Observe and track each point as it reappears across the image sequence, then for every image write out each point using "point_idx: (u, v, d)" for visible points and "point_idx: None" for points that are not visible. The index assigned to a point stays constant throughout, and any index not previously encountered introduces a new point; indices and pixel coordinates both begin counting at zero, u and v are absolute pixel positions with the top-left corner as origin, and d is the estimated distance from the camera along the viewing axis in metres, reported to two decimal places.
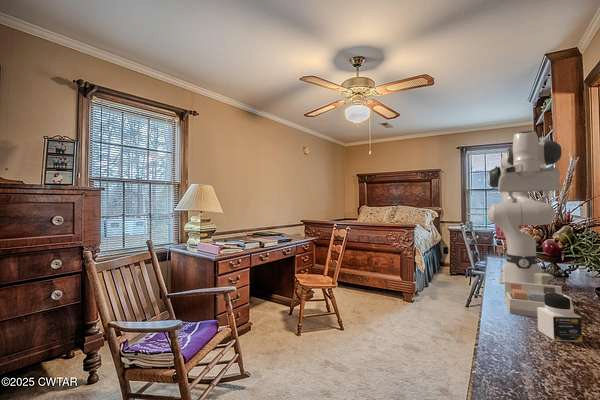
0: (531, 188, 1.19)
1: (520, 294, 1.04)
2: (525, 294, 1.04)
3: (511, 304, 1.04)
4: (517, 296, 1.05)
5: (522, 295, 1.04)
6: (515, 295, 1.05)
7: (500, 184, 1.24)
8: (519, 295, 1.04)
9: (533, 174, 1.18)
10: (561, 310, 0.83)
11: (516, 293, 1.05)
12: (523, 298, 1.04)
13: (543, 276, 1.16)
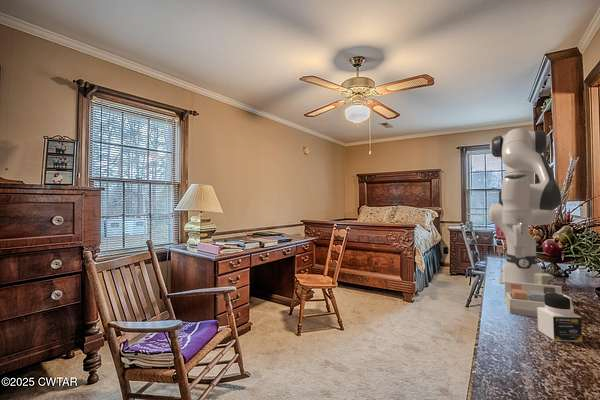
0: (511, 242, 1.07)
1: (520, 294, 1.04)
2: (525, 294, 1.04)
3: (511, 304, 1.04)
4: (517, 296, 1.05)
5: (522, 295, 1.04)
6: (515, 295, 1.05)
7: (507, 233, 1.16)
8: (519, 295, 1.04)
9: (508, 227, 1.07)
10: (561, 310, 0.83)
11: (516, 293, 1.05)
12: (523, 298, 1.04)
13: (543, 276, 1.16)
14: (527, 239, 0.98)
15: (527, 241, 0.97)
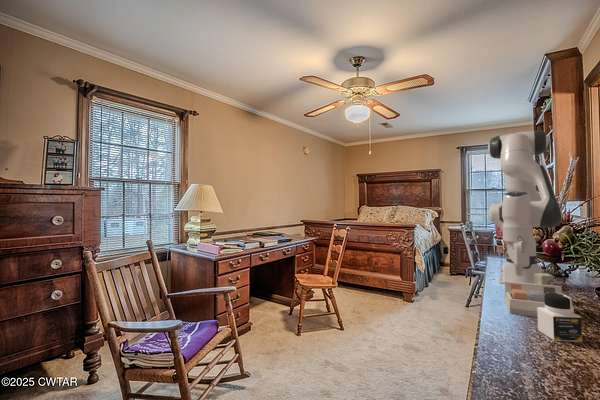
0: (512, 260, 1.06)
1: (520, 294, 1.04)
2: (525, 294, 1.04)
3: (511, 304, 1.04)
4: (517, 296, 1.05)
5: (522, 295, 1.04)
6: (515, 295, 1.05)
7: (507, 250, 1.16)
8: (519, 295, 1.04)
9: (509, 244, 1.06)
10: (561, 310, 0.83)
11: (516, 293, 1.05)
12: (523, 298, 1.04)
13: (543, 276, 1.16)
14: (528, 258, 0.97)
15: (527, 259, 0.97)
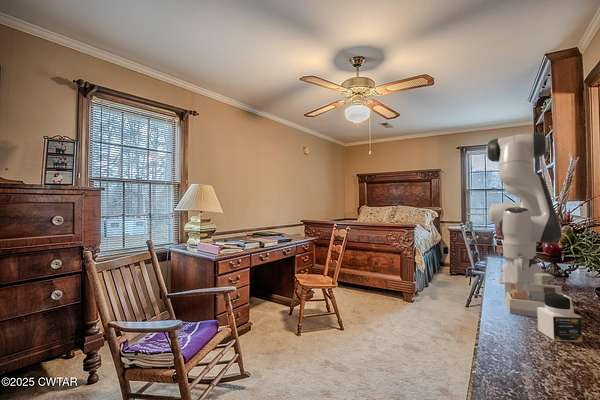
0: (513, 276, 1.06)
1: (520, 294, 1.04)
2: (525, 294, 1.04)
3: (511, 304, 1.04)
4: (517, 296, 1.05)
5: (522, 295, 1.04)
6: (515, 295, 1.05)
7: (508, 264, 1.16)
8: (519, 295, 1.04)
9: (509, 260, 1.06)
10: (561, 310, 0.83)
11: (516, 293, 1.05)
12: (523, 298, 1.04)
13: (543, 276, 1.16)
14: (528, 276, 0.97)
15: (528, 277, 0.97)
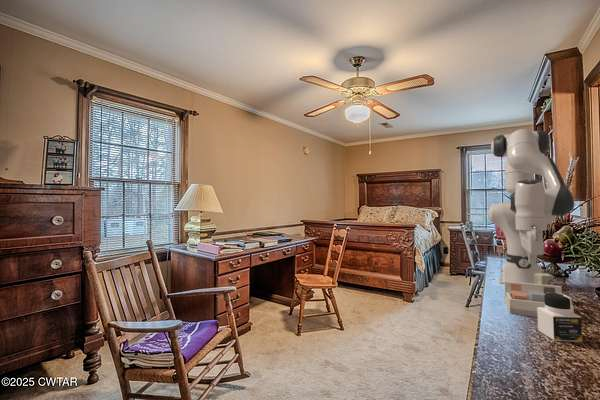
0: (525, 249, 1.05)
1: (520, 297, 1.04)
2: (525, 297, 1.04)
3: (511, 304, 1.04)
4: None
5: (522, 298, 1.04)
6: (515, 298, 1.05)
7: (520, 239, 1.14)
8: (519, 298, 1.04)
9: (522, 233, 1.05)
10: (561, 310, 0.83)
11: (516, 296, 1.05)
12: None
13: (543, 276, 1.16)
14: (542, 246, 0.96)
15: (542, 248, 0.96)
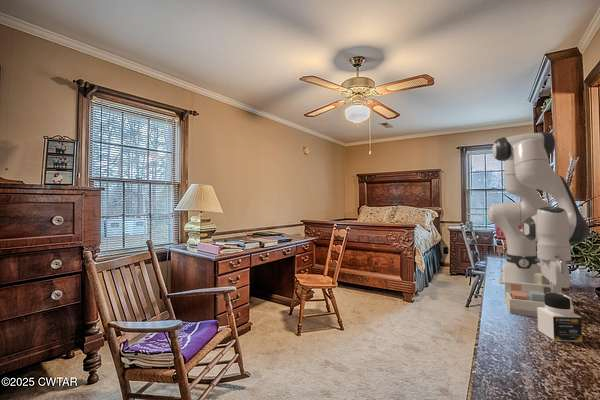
0: (548, 279, 1.02)
1: (520, 297, 1.04)
2: (525, 297, 1.04)
3: (511, 304, 1.04)
4: None
5: (522, 298, 1.04)
6: (515, 298, 1.05)
7: (540, 266, 1.11)
8: (519, 298, 1.04)
9: (545, 262, 1.02)
10: (561, 310, 0.83)
11: (516, 296, 1.05)
12: None
13: (543, 276, 1.16)
14: (568, 279, 0.92)
15: (568, 281, 0.92)
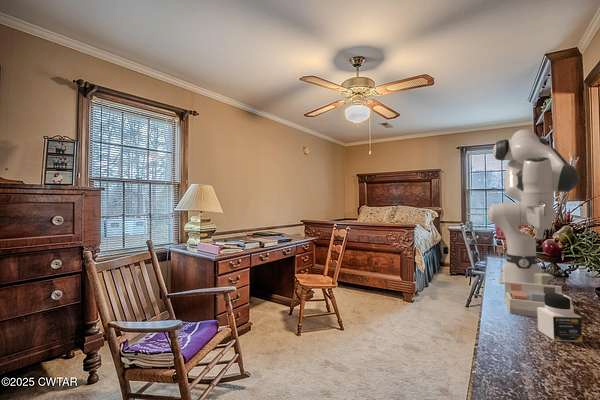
0: (533, 224, 1.09)
1: (520, 297, 1.04)
2: (525, 297, 1.04)
3: (511, 304, 1.04)
4: None
5: (522, 298, 1.04)
6: (515, 298, 1.05)
7: (526, 216, 1.18)
8: (519, 298, 1.04)
9: (530, 209, 1.09)
10: (561, 310, 0.83)
11: (516, 296, 1.05)
12: None
13: (543, 276, 1.16)
14: (550, 220, 1.00)
15: (550, 222, 1.00)
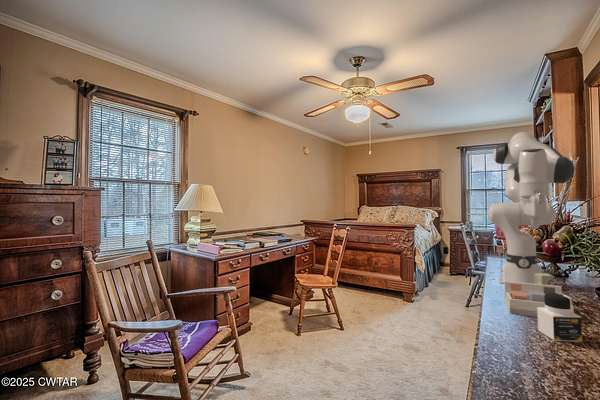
0: (529, 214, 1.11)
1: (520, 297, 1.04)
2: (525, 297, 1.04)
3: (511, 304, 1.04)
4: None
5: (522, 298, 1.04)
6: (515, 298, 1.05)
7: (523, 207, 1.20)
8: (519, 298, 1.04)
9: (526, 199, 1.11)
10: (561, 310, 0.83)
11: (516, 296, 1.05)
12: None
13: (543, 276, 1.16)
14: (545, 208, 1.02)
15: (545, 210, 1.01)
